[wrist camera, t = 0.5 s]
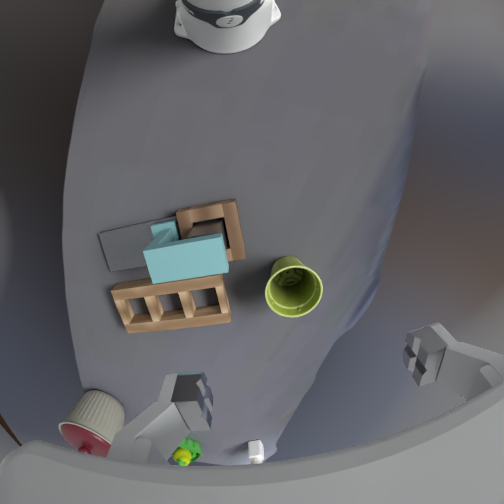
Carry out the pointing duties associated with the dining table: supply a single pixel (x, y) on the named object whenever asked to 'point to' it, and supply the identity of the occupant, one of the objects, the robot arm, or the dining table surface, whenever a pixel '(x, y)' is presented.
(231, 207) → the socket frame
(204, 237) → the plate
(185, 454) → the fruit basket
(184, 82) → the dining table surface
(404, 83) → the dining table surface
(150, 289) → the rack
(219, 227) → the grey rectangular block
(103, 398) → the canister
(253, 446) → the salt shaker
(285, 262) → the plant pot
